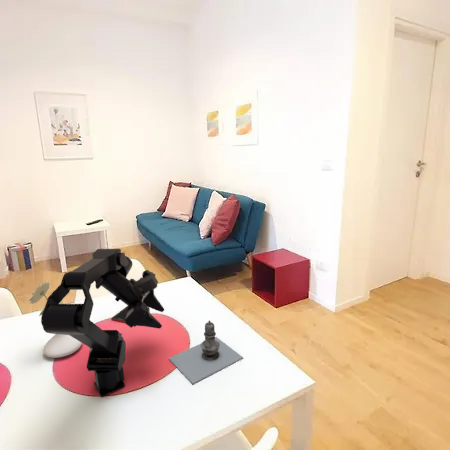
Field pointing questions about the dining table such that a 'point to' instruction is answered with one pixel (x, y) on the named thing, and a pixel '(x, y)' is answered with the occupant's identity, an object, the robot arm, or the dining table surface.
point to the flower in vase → (59, 342)
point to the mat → (203, 362)
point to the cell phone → (121, 315)
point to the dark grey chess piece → (210, 343)
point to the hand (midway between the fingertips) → (162, 318)
